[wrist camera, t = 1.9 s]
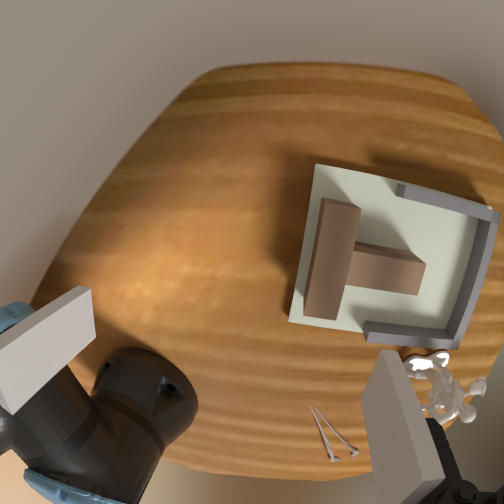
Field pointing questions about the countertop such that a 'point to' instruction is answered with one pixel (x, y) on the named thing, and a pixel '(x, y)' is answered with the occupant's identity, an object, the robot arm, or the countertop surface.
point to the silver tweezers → (332, 457)
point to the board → (409, 239)
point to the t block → (352, 262)
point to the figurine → (444, 387)
